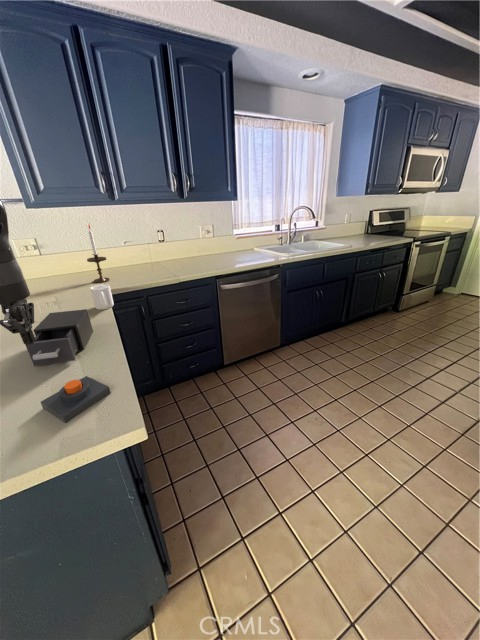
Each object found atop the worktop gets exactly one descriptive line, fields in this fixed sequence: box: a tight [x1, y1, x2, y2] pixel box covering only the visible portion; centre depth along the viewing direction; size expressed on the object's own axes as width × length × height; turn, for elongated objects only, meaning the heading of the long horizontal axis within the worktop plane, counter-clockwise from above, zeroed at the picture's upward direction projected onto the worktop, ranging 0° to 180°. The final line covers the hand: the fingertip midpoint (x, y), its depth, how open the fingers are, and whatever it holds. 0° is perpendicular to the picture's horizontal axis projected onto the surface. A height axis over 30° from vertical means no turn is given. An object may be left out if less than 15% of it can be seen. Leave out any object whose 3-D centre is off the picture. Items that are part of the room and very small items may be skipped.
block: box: [40, 375, 112, 424], centre depth 68 cm, size 12×10×4 cm
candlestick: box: [86, 223, 110, 284], centre depth 163 cm, size 11×11×35 cm
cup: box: [89, 283, 115, 311], centre depth 125 cm, size 8×12×10 cm
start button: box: [63, 379, 82, 394], centre depth 67 cm, size 4×4×2 cm
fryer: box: [33, 308, 94, 352], centre depth 95 cm, size 15×13×10 cm
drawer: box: [25, 327, 80, 367], centre depth 85 cm, size 18×11×8 cm, turn 15°
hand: (30, 342), depth 71 cm, fingers closed
